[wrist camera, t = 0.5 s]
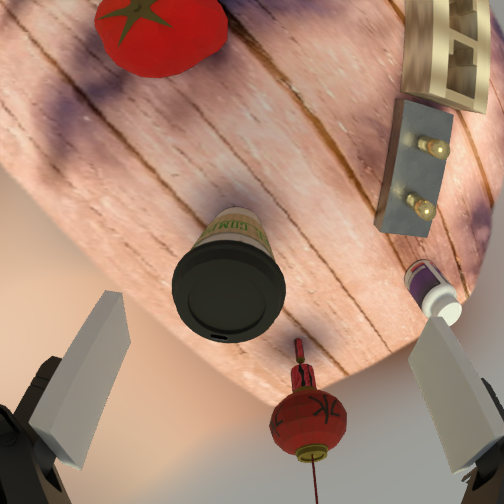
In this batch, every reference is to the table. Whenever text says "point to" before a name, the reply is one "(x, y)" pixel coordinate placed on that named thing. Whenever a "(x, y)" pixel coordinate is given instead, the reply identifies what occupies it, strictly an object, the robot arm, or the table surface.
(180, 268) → the coffee cup
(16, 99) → the table surface
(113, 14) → the tomato
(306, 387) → the lantern
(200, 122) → the table surface
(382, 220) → the post rail
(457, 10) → the cinder block
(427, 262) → the pill bottle
